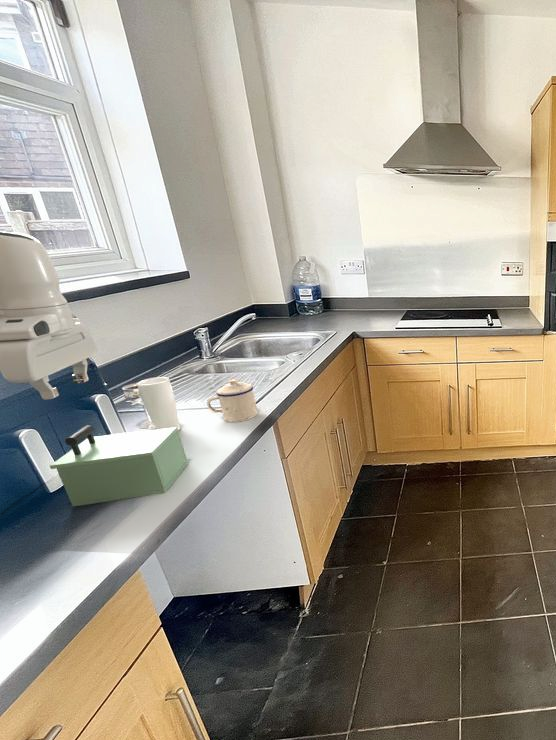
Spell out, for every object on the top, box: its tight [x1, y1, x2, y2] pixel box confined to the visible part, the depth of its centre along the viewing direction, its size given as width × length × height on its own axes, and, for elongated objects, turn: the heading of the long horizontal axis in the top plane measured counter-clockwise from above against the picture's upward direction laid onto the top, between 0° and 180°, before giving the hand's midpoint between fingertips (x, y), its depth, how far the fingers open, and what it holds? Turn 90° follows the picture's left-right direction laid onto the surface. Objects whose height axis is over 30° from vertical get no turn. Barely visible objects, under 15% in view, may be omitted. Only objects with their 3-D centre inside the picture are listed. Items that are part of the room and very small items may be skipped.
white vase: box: [136, 376, 181, 431], centre depth 112 cm, size 7×7×15 cm
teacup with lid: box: [206, 378, 259, 423], centre depth 122 cm, size 12×9×12 cm
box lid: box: [49, 424, 179, 470], centre depth 87 cm, size 16×13×5 cm
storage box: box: [56, 430, 189, 507], centre depth 90 cm, size 16×13×9 cm
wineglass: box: [121, 382, 154, 429], centre depth 117 cm, size 7×7×12 cm
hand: (67, 389), depth 83 cm, fingers open, 8 cm apart
